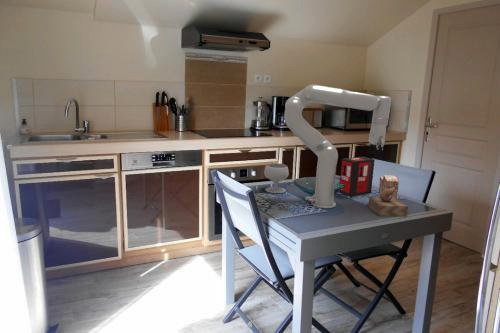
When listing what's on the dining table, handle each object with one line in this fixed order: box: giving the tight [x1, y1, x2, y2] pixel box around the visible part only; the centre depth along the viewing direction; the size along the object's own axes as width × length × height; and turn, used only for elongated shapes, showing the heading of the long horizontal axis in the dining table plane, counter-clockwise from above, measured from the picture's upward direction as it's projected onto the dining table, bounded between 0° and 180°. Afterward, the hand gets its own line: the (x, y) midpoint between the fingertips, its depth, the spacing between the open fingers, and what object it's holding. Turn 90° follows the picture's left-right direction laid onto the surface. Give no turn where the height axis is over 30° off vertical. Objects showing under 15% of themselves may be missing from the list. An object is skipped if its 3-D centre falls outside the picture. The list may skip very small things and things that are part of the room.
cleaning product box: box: [338, 156, 376, 198], centre depth 219 cm, size 16×9×20 cm, turn 120°
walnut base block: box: [367, 196, 409, 217], centre depth 191 cm, size 14×14×5 cm
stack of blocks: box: [378, 174, 400, 199], centre depth 214 cm, size 21×6×12 cm, turn 170°
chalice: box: [263, 162, 290, 194], centre depth 218 cm, size 14×14×15 cm
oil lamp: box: [378, 186, 396, 201], centre depth 190 cm, size 9×4×8 cm, turn 105°
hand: (374, 155), depth 191 cm, fingers open, 9 cm apart
